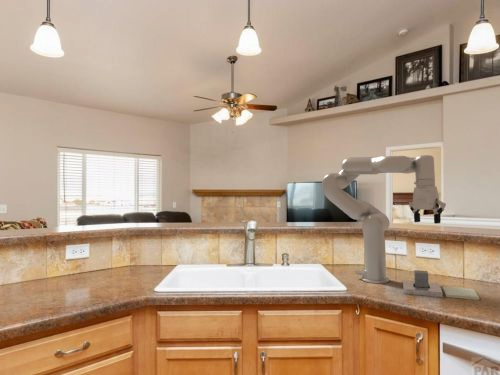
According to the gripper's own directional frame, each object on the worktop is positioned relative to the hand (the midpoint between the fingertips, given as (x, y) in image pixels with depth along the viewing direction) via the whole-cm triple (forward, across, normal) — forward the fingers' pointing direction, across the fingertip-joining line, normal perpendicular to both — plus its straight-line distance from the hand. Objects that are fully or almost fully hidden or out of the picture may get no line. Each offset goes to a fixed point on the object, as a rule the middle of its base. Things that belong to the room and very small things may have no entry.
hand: (427, 222), depth 148 cm
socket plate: (+28, +2, -7) cm, 29 cm away
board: (+28, +12, +2) cm, 31 cm away
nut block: (+28, +2, -7) cm, 29 cm away
